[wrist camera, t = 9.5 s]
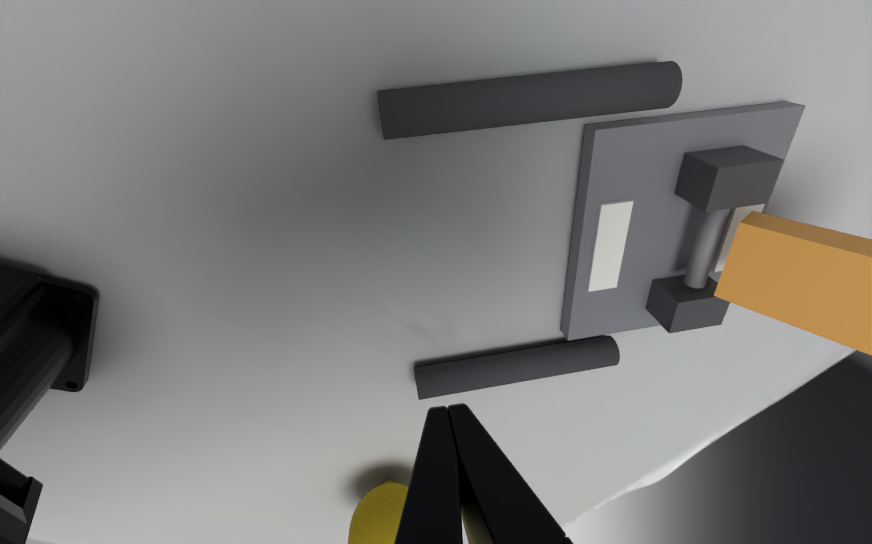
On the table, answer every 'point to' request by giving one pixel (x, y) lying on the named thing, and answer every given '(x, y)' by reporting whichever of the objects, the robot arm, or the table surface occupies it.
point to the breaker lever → (791, 274)
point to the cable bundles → (514, 106)
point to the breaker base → (665, 212)
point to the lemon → (378, 515)
